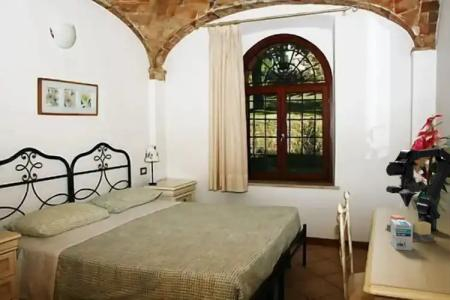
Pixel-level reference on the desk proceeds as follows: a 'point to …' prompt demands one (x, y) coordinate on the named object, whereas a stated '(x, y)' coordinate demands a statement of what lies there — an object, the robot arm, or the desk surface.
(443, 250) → the desk surface
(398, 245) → the light bulb box
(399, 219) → the peach cube
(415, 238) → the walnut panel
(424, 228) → the yellow cube
